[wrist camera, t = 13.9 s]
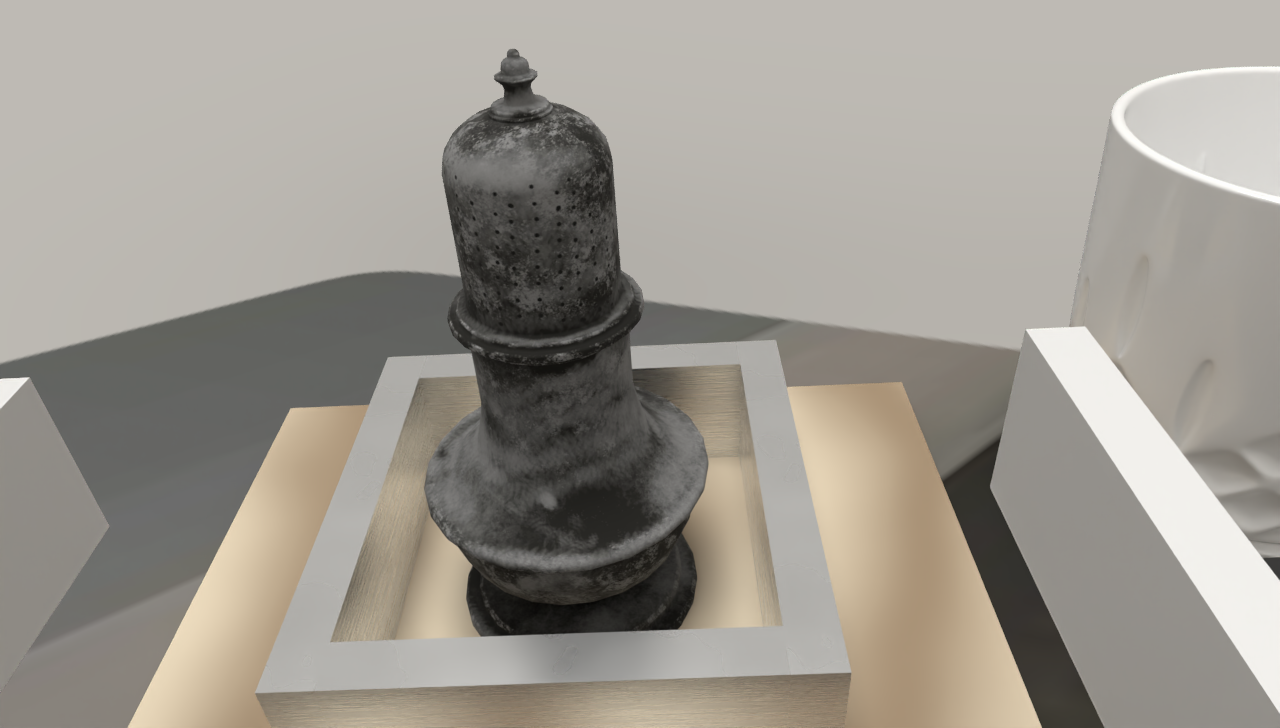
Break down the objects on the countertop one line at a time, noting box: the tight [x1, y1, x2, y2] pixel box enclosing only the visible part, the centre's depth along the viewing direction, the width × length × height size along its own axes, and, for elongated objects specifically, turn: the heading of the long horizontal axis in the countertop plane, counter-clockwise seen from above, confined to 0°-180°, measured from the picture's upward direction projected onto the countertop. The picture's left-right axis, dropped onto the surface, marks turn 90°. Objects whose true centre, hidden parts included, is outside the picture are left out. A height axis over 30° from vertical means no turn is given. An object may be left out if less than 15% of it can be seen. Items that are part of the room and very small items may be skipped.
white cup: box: [1069, 66, 1280, 558], centre depth 20 cm, size 8×8×10 cm
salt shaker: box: [424, 49, 709, 637], centre depth 18 cm, size 6×6×12 cm
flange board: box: [128, 382, 1042, 728], centre depth 21 cm, size 18×14×1 cm
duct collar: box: [255, 340, 852, 728], centre depth 20 cm, size 10×10×3 cm
